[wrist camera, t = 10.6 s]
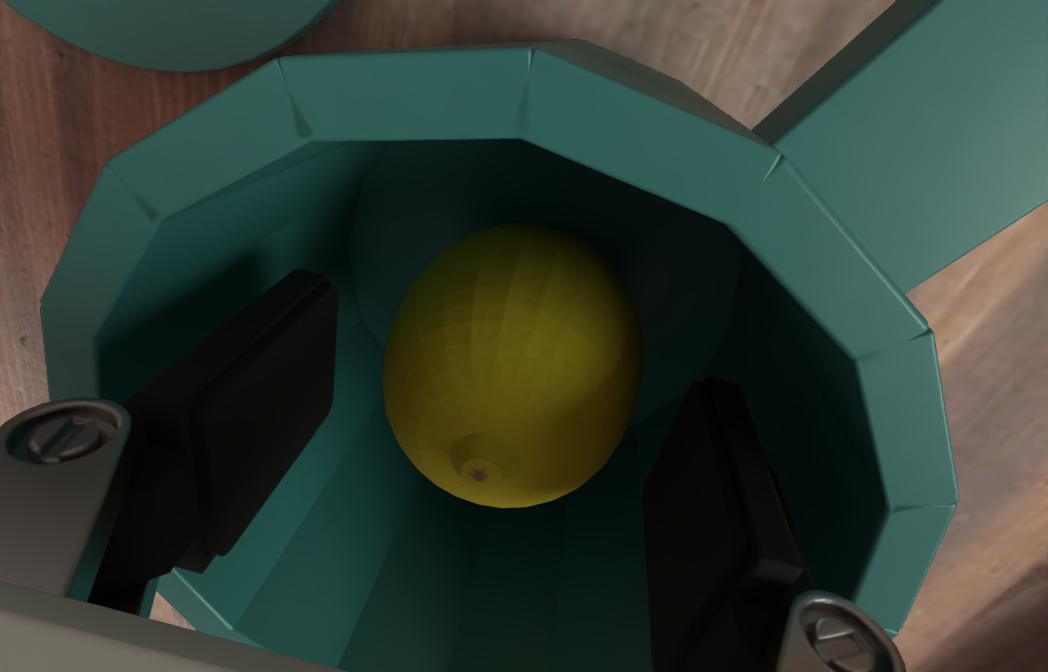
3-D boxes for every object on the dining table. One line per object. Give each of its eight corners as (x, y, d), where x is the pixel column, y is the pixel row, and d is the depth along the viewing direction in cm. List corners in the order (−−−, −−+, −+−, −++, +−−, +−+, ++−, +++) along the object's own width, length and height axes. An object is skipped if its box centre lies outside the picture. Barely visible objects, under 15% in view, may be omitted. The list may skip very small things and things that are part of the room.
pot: (223, 327, 19) (-81, 556, 11) (619, -221, 11) (637, -990, 3) (497, 535, 22) (425, 841, 14) (961, 220, 14) (1468, 490, 6)
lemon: (633, 177, 14) (653, 315, 7) (638, 363, 17) (656, 599, 10) (427, 195, 15) (268, 333, 8) (461, 368, 18) (362, 586, 11)
